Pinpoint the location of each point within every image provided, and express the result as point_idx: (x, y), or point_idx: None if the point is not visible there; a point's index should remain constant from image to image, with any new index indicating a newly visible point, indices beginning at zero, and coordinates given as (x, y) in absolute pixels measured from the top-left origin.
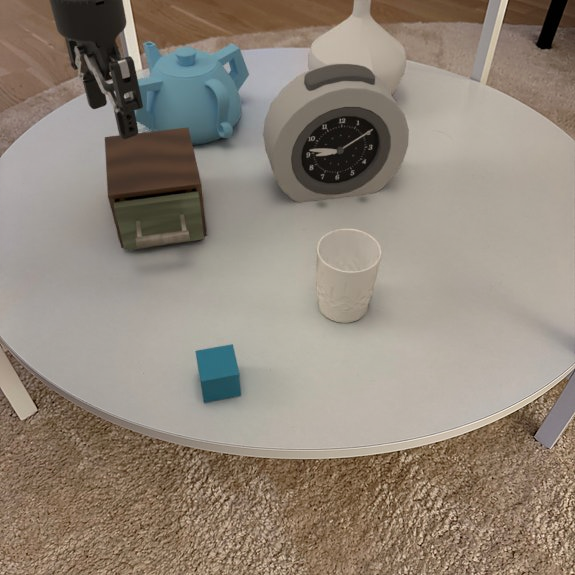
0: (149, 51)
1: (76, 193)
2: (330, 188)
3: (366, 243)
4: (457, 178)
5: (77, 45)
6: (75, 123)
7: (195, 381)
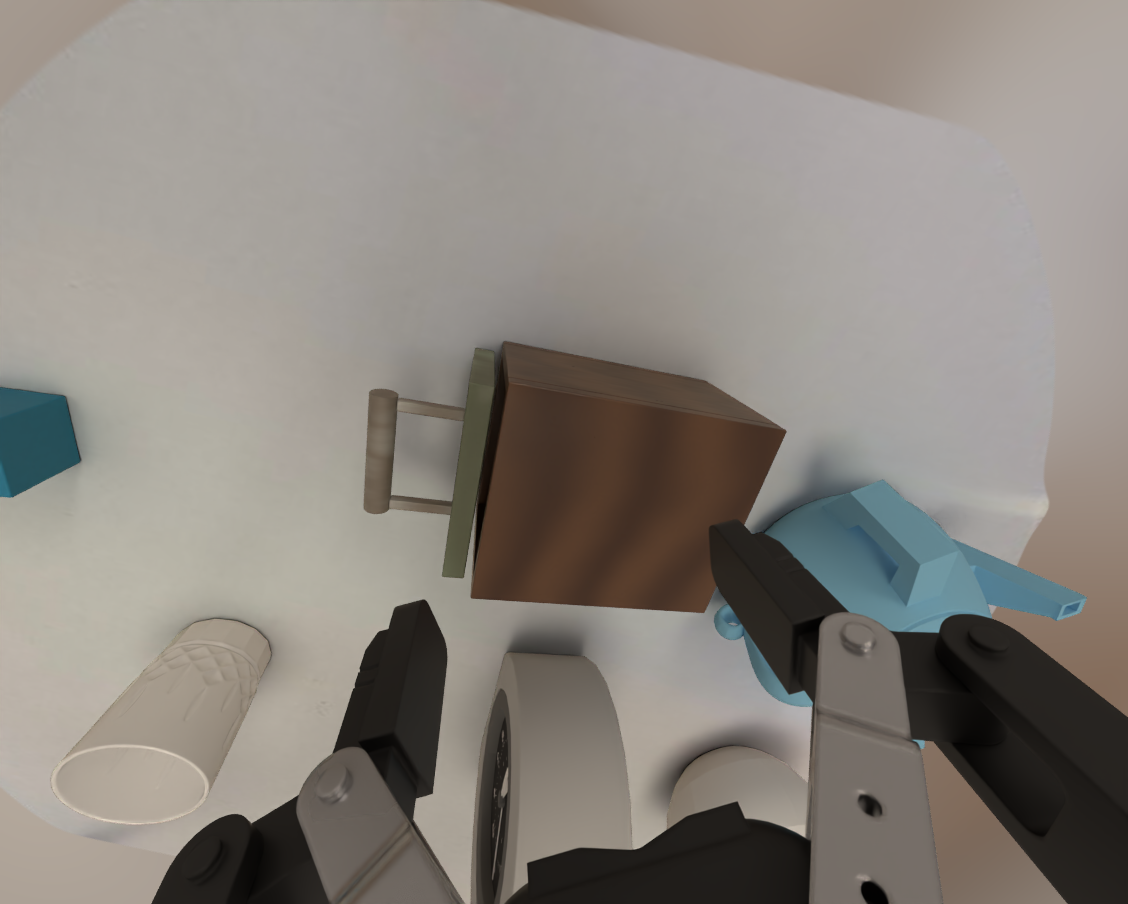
0: (1046, 598)
1: (740, 288)
2: (495, 712)
3: (189, 791)
4: (469, 824)
5: (1119, 871)
6: (985, 347)
7: (40, 383)
